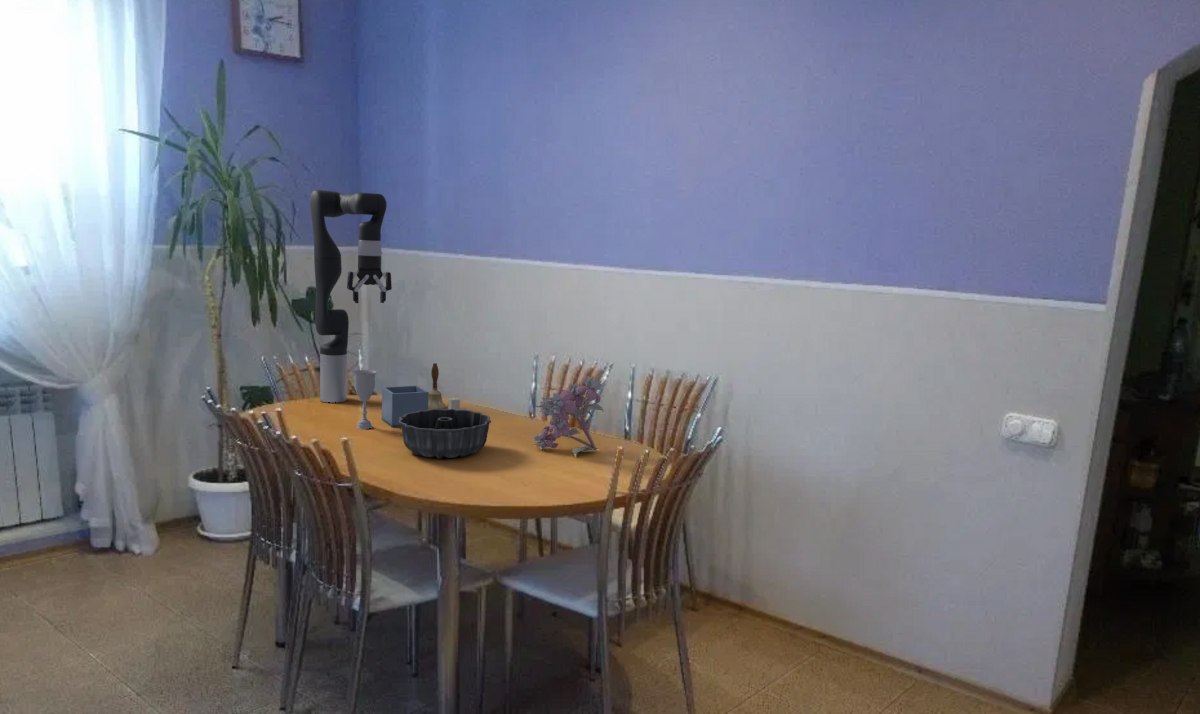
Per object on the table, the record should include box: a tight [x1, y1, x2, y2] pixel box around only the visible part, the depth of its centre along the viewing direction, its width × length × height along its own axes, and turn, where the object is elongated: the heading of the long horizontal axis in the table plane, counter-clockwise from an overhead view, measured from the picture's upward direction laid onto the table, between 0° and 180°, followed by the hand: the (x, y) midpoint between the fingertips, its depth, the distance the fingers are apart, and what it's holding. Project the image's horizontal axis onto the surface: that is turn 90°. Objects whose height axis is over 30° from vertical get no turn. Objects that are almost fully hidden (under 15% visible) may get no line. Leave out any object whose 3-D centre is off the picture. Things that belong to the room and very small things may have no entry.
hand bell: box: [428, 363, 447, 410], centre depth 307 cm, size 8×8×16 cm
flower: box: [531, 373, 605, 456], centre depth 254 cm, size 20×22×25 cm
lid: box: [447, 397, 468, 410], centre depth 291 cm, size 13×13×7 cm
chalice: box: [352, 369, 377, 430], centre depth 272 cm, size 7×7×18 cm
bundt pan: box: [399, 408, 492, 460], centre depth 249 cm, size 26×26×10 cm
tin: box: [381, 385, 430, 428], centre depth 282 cm, size 12×12×11 cm
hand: (369, 303), depth 286 cm, fingers open, 8 cm apart
